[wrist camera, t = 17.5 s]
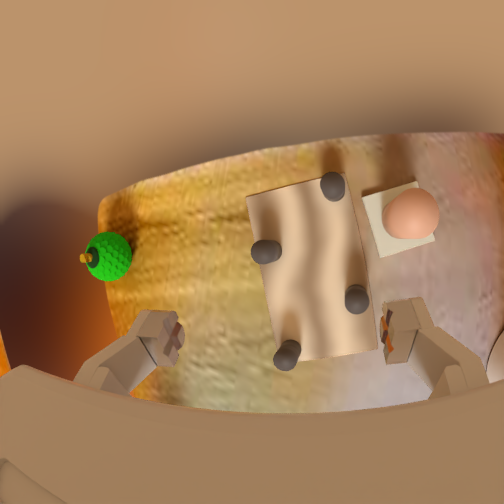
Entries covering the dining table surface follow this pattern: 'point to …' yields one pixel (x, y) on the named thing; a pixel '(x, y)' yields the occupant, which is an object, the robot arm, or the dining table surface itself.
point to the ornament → (107, 256)
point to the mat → (374, 212)
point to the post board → (313, 270)
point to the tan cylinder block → (411, 215)
